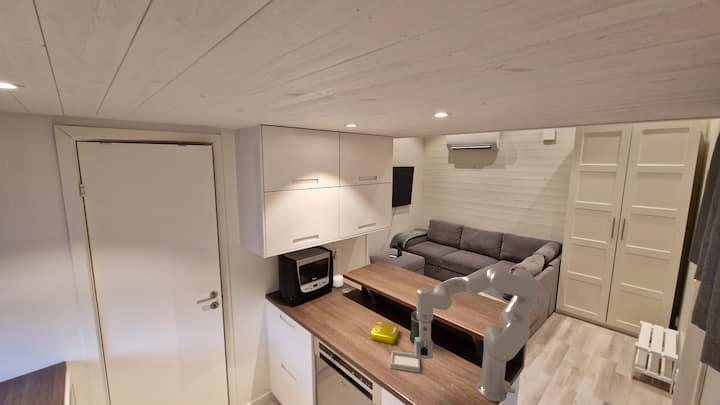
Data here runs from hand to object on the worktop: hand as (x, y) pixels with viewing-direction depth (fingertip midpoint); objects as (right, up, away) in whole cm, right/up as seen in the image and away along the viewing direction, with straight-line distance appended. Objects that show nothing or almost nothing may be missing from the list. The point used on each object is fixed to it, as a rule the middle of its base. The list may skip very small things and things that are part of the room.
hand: (423, 350), depth 138 cm
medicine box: (0, -3, 0) cm, 3 cm away
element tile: (-15, -11, +39) cm, 43 cm away
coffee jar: (+4, -11, +34) cm, 36 cm away
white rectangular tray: (-7, -14, +14) cm, 21 cm away
